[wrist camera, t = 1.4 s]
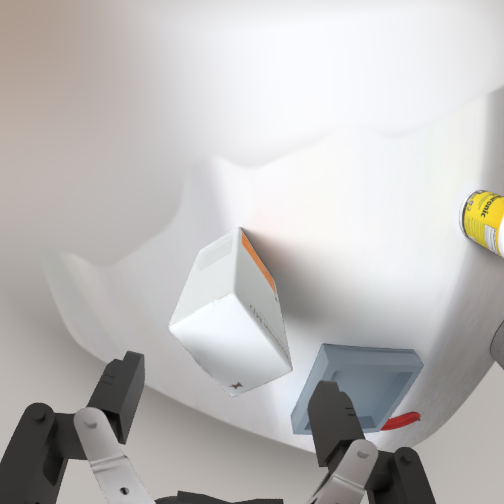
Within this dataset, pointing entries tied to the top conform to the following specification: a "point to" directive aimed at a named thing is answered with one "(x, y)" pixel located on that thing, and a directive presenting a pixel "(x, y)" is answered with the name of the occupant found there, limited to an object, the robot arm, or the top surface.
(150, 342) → the top surface
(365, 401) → the tray
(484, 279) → the top surface
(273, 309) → the skincare box
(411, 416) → the cayenne pepper
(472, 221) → the supplement bottle
